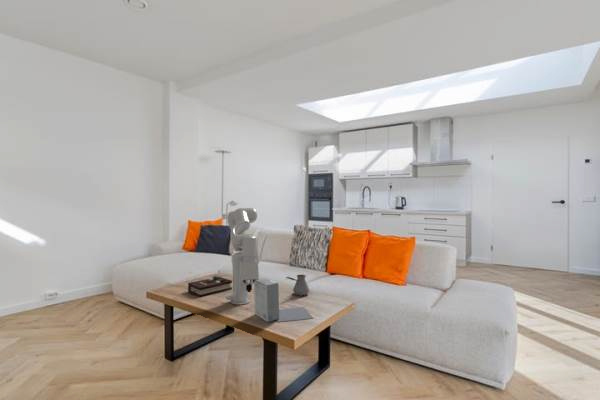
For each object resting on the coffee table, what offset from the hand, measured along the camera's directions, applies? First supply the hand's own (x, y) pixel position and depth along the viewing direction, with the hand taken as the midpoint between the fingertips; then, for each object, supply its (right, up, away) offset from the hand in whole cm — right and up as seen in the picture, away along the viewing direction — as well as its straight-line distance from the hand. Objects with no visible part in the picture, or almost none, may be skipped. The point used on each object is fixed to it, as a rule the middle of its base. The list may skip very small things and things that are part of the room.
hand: (248, 291), depth 171 cm
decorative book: (-36, -15, +52) cm, 65 cm away
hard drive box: (+10, -15, +3) cm, 18 cm away
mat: (+24, -15, +7) cm, 29 cm away
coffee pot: (+26, -15, +41) cm, 51 cm away
